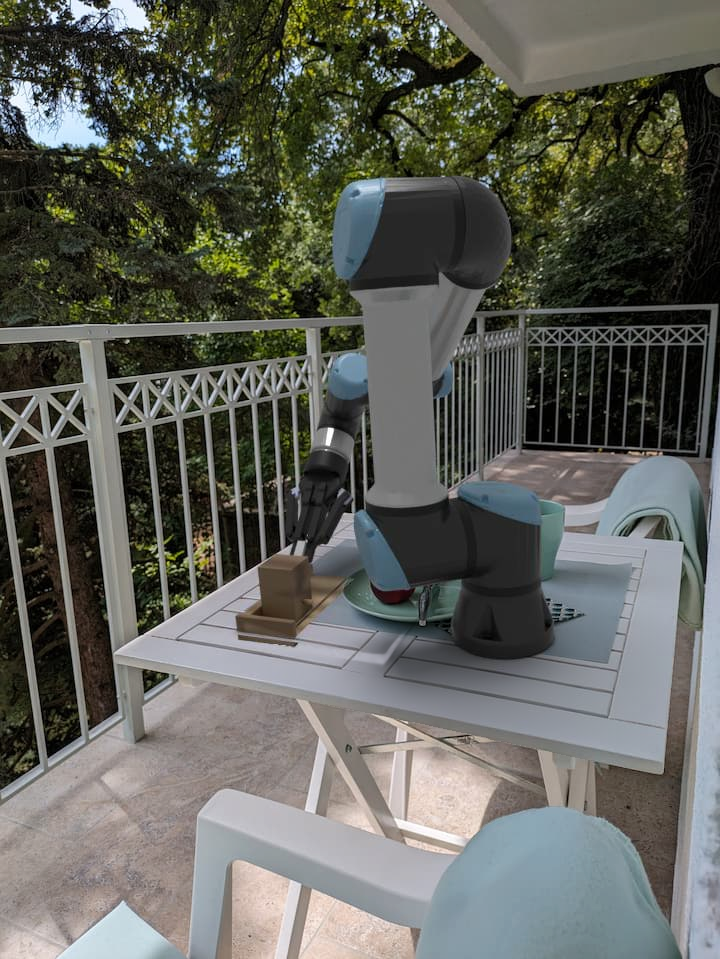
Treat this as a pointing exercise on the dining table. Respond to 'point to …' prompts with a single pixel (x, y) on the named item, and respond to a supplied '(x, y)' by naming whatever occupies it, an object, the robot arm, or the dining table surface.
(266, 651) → the dining table surface
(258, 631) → the brown wooden tray
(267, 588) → the brown wooden block
